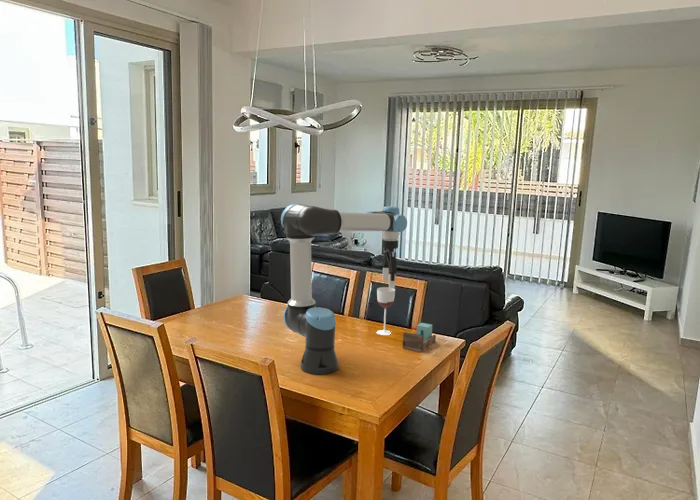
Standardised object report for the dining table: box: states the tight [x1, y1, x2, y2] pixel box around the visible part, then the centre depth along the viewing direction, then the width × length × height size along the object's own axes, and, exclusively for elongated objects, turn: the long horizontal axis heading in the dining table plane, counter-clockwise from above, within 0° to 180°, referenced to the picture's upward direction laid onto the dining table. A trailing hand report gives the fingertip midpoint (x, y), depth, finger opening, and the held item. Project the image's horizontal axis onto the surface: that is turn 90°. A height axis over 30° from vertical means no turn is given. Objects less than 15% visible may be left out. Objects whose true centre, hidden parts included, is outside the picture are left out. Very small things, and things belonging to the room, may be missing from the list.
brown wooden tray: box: [402, 331, 437, 353], centre depth 235 cm, size 17×9×7 cm, turn 148°
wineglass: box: [375, 286, 396, 336], centre depth 251 cm, size 9×10×22 cm
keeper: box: [416, 322, 433, 341], centre depth 239 cm, size 5×6×7 cm
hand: (388, 284), depth 241 cm, fingers open, 13 cm apart
